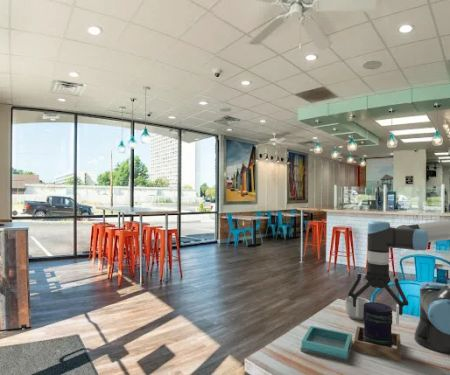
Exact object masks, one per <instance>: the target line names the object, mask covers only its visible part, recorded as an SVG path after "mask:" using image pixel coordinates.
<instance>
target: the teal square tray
mask: <svg viewBox="0 0 450 375" xmlns="http://www.w3.org/2000/svg"><path fill="white" fill-rule="evenodd" d="M352 336H353V334H352V333H348V332H343V331H340V330H339V331H338V330H332V329H328V328H324V327H318V326H314V325H310V326H309V328H308V330H307V331H306V333H305V335H304V337H303V338H302V340H301V347H300V352H304V353H308V354H312V355H316V356H320V357H325V358H328V359H333V360H337V361H341V362H344V363H349V359H350V357H351V353H352V352H351V351H352V347H353V345H354V340H353V337H352Z"/></svg>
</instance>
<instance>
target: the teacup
mask: <svg viewBox="0 0 450 375" xmlns="http://www.w3.org/2000/svg"><path fill="white" fill-rule="evenodd" d="M357 298H359V314H358V317H356V307H353V298H352V297H351V296H348V297H346V298H345V299H344V301H345V304H344V305H345V312H346V314H347V315H348V316H349V317H350V318H351V319H354V320H359V321H364V319H363V316H364V315H363V311H364V303H367V302H371V301H370V300H369V299H367V298H364V297H360V296H358V297H357Z"/></svg>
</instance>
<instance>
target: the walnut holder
mask: <svg viewBox="0 0 450 375" xmlns="http://www.w3.org/2000/svg"><path fill="white" fill-rule="evenodd" d="M363 329H364V326H359V325H358V326H356V331H355V335H354V339H353V351H355V352H359V353H363V354H367V355H372V356H375V357H376V356H377V357H381V358H385V359H390V360H395V361H399V362H402V343H401V342H402V341H401V336H400V335H401V334H400V333H397V332H396V333H395V332H391V334H392V337H393V338H392V344H394V345H395V344H396V347H392V348H391V347H387V346H382V345H377V344H372V343H368V342H364V340H363V341H361V340H360V339H361V338H363ZM360 337H361V338H360Z"/></svg>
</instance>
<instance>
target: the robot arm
mask: <svg viewBox="0 0 450 375" xmlns="http://www.w3.org/2000/svg"><path fill="white" fill-rule="evenodd" d="M367 224H368V225H367V236H366V237H367V238H366V239H367V243H366V244H367V247H366V248H367V250H366V261H367V262H366V273H365V274H364V273H362V272H360V271H359V272H358V274H357V276H356V277H357V278H356V280H355V281H354V283H353V284H352V287H351V288H350V290H349V291H348V294H347V297H350V296H351V297H352V298H353V307H356V317H358V314H359V298H357V297H360V296H361V295H362V293H364V292H365V291H366V290H367V289H368V288H369V287H372V288H375V289H376V288H377V289H381V290H382V289H385V291H387V292H388V293H389V295H390V296H391V297H392V298H393V300H394V301H395V302H396V309H395V311H396V312H395V320H396V321H395V324H396V325H398V326H399V325H400V322H399V321H400V316H403V312H404V311H403V310H404V309H403V307H405V306H409V301H408V299H407V297H406V294H405V293H404V291H403V288H402V286H401V285H400V281H399V277H396V276H395V277H390V264H389V263H390V249H399V250H400V249H401V250H412V251H416V252H417V251H426V250H427V249H428V246H429V243H432V242H434V243H435V242H442V241H448V240H450V219H445V220H437V221H430V222H429V221H428V222H422V223H416V224H408V225H407V224H402V225H398V226H397V227H391V223H390V222H388V221H382V220H381V221H379V220H371V221H369V222H368V223H367ZM363 279H366V281H367V282H366V283H364V285H363V286H361V287H360V288H359V289H358V290H357V291H356V292H355V290H356V288H357V287H358V285H359V284H360V282H361V280H363ZM390 282H391V283H392V284H393V285H395V288H396V290H397V292H398V294H399V296H400V297H401V299H402V300H401V299H400V298H399V297H398V296H397V294H396V293H395V292H394V290H393V289H392V288H391V287H390V285H389V283H390ZM354 292H355V293H354ZM414 341H415V342H416V343H417V344H419V345H420V346H422V347H424V348H427V349H429V350H432V351H436V352H441V353H447V354H450V284H449V283H440V282H432V281H423V282H421V283H420V285H419V321H418V323H417V325H416V329H415V331H414Z"/></svg>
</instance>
